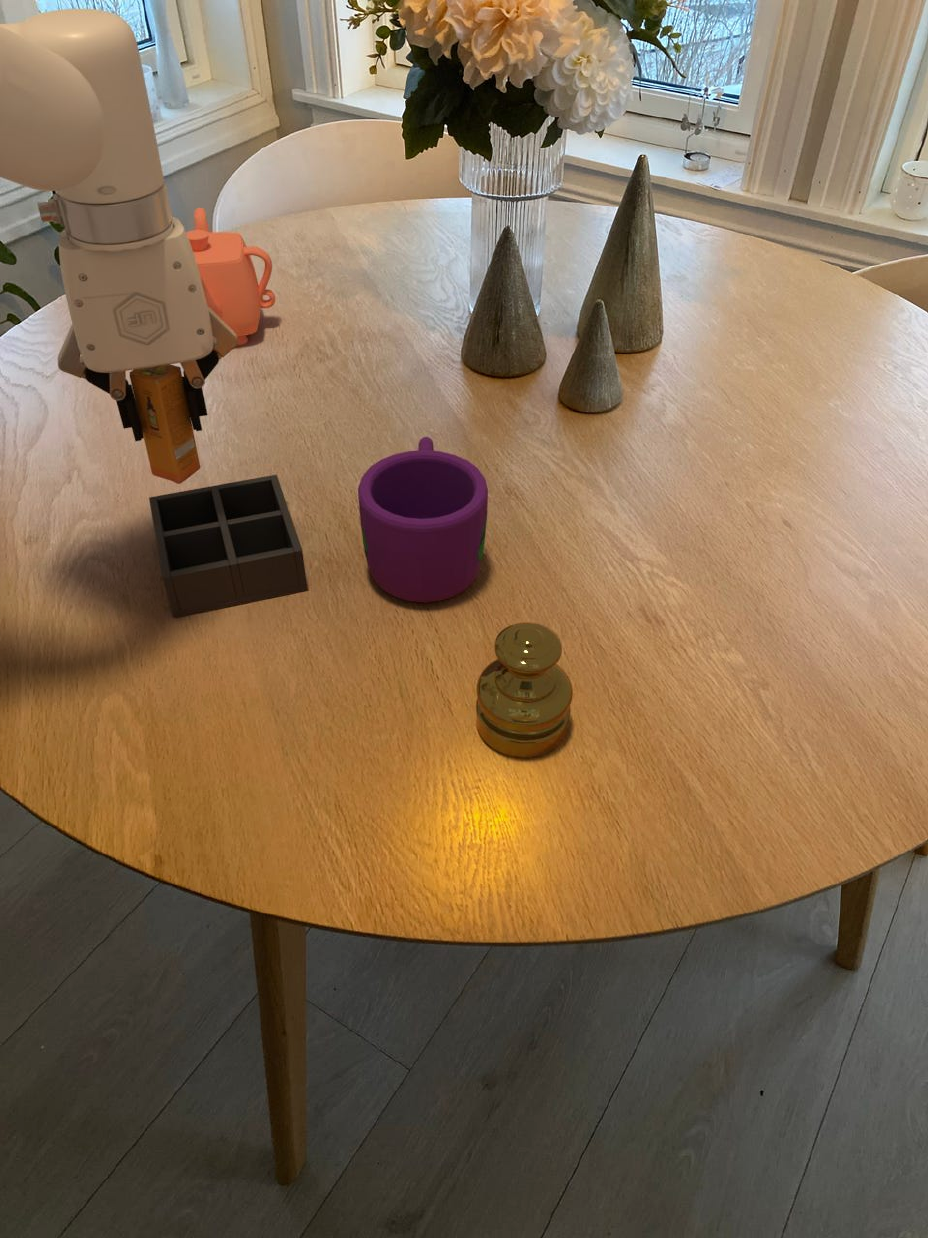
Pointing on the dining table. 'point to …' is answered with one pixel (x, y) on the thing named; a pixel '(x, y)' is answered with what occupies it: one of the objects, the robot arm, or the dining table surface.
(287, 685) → the dining table surface
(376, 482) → the mug
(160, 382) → the supplement box
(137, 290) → the robot arm
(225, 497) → the rack
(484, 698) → the brass knobbed weight
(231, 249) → the teapot
